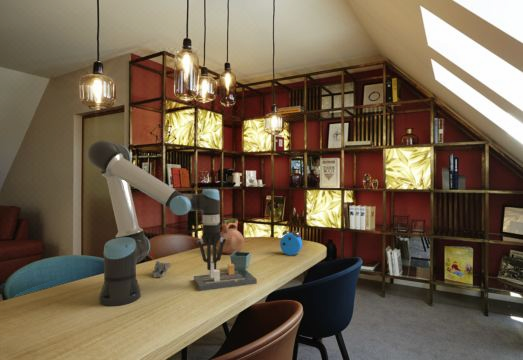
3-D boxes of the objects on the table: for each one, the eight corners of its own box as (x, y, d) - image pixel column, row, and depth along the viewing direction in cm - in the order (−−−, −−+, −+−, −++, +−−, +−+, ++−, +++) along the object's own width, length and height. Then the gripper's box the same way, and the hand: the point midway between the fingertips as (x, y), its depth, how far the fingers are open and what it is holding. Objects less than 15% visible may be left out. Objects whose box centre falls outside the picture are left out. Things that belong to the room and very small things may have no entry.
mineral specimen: (155, 285, 159) (173, 280, 157) (145, 277, 153) (163, 273, 151) (159, 267, 166) (176, 263, 163) (149, 260, 160) (167, 255, 158)
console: (199, 290, 136) (199, 284, 136) (193, 280, 150) (193, 274, 150) (256, 283, 146) (256, 277, 146) (246, 274, 160) (246, 269, 160)
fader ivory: (214, 281, 141) (214, 271, 141) (212, 279, 144) (212, 270, 144) (219, 281, 142) (219, 271, 142) (218, 279, 145) (218, 269, 145)
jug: (229, 248, 219) (228, 218, 219) (249, 251, 208) (249, 220, 208) (209, 253, 204) (209, 222, 204) (231, 257, 193) (231, 224, 193)
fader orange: (229, 275, 151) (229, 265, 151) (227, 273, 154) (227, 264, 154) (234, 274, 152) (234, 265, 152) (232, 272, 155) (232, 263, 155)
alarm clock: (302, 254, 200) (302, 230, 200) (299, 256, 194) (299, 232, 194) (283, 252, 205) (283, 229, 205) (279, 254, 200) (279, 230, 200)
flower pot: (246, 274, 160) (246, 256, 160) (229, 273, 162) (229, 255, 161) (251, 269, 168) (250, 252, 168) (234, 268, 170) (234, 251, 170)
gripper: (197, 226, 136) (198, 281, 136) (227, 224, 141) (228, 277, 141) (195, 223, 143) (195, 276, 143) (223, 221, 148) (224, 272, 148)
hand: (211, 276), depth 142 cm, fingers closed
